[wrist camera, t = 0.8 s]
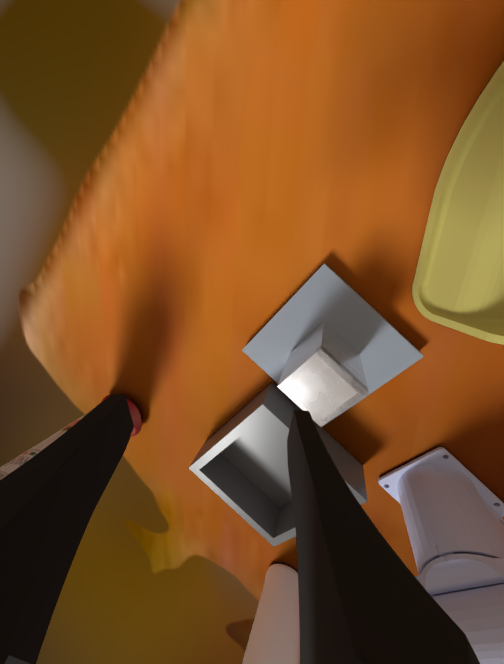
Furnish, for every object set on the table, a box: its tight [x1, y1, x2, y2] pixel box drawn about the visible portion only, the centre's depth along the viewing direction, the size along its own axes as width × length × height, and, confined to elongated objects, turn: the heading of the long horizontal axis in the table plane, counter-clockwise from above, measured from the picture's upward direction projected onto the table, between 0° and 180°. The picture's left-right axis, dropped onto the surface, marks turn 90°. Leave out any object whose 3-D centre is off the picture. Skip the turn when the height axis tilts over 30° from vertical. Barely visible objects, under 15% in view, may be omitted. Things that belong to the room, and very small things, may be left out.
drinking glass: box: [242, 564, 300, 664], centre depth 32 cm, size 7×7×15 cm
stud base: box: [242, 263, 424, 426], centre depth 24 cm, size 12×12×6 cm
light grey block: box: [277, 321, 369, 427], centre depth 22 cm, size 5×5×7 cm
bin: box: [189, 382, 367, 546], centre depth 30 cm, size 14×14×4 cm
